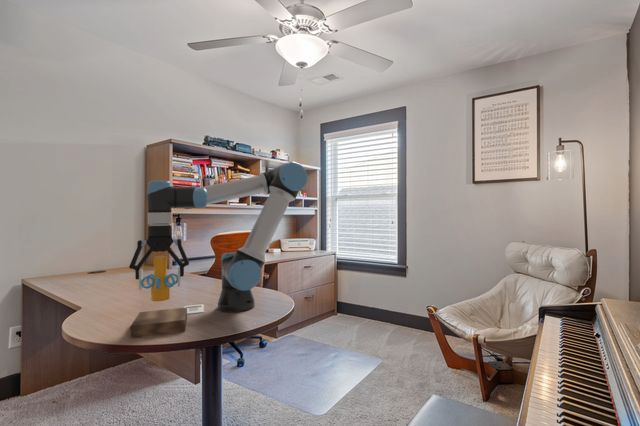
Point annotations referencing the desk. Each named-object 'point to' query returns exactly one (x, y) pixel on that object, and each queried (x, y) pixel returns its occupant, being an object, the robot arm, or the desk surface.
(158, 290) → the yellow post with rings
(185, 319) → the base block
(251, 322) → the desk surface
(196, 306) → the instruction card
